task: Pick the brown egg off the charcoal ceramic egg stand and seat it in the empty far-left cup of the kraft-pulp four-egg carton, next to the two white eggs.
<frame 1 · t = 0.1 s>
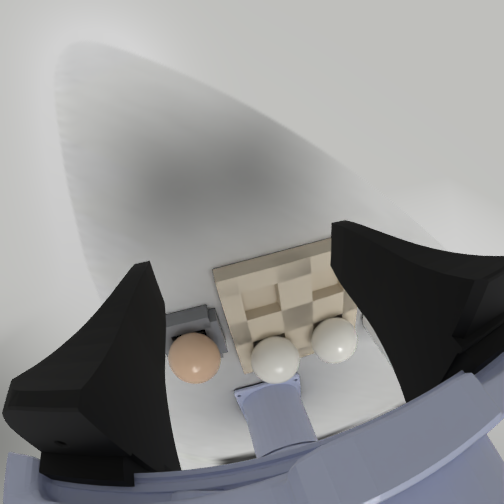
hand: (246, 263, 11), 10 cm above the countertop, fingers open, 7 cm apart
white egg a: (275, 360, 25), point 3 cm above the countertop, touching carton
brown egg: (194, 358, 23), point 3 cm above the countertop, touching egg stand
egg stand: (191, 331, 26), on the countertop
carton: (291, 304, 27), on the countertop
white egg b: (334, 340, 25), point 3 cm above the countertop, touching carton
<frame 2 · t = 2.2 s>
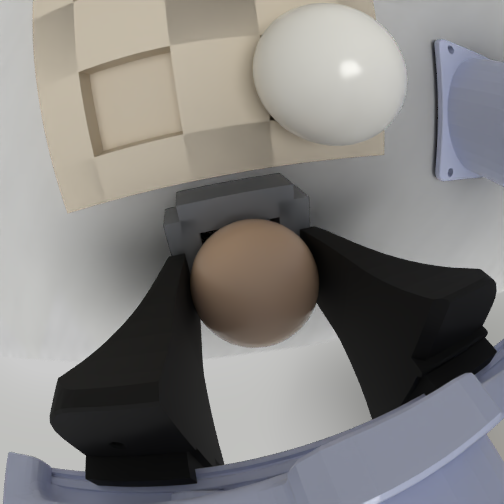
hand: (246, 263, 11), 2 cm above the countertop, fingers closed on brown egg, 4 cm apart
white egg a: (330, 72, 7), point 3 cm above the countertop, touching carton
brown egg: (254, 283, 10), point 3 cm above the countertop, touching egg stand, gripper
egg stand: (237, 240, 13), on the countertop
carton: (206, 16, 8), on the countertop
when the fingers open (3 cm above the countertop, at t = 5.4 s): brown egg stays where it is, resting on carton.
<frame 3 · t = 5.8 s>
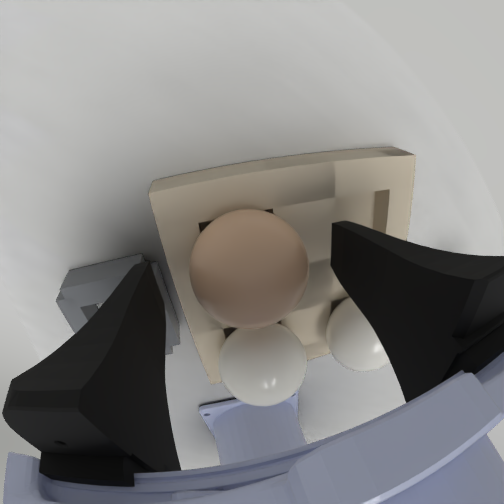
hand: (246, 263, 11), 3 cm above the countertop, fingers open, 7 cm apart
white egg a: (262, 363, 14), point 3 cm above the countertop, touching carton
brown egg: (249, 269, 11), point 3 cm above the countertop, touching carton
egg stand: (121, 304, 14), on the countertop
carton: (294, 267, 16), on the countertop
white egg b: (365, 332, 15), point 3 cm above the countertop, touching carton
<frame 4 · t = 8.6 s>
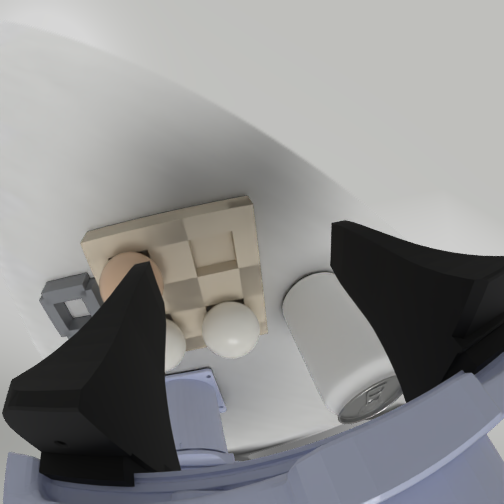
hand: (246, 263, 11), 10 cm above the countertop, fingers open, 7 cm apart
white egg a: (157, 344, 21), point 3 cm above the countertop, touching carton
can: (312, 297, 27), on the countertop
brown egg: (131, 285, 18), point 3 cm above the countertop, touching carton
egg stand: (79, 303, 21), on the countertop
carton: (182, 282, 23), on the countertop
white egg b: (230, 330, 22), point 3 cm above the countertop, touching carton
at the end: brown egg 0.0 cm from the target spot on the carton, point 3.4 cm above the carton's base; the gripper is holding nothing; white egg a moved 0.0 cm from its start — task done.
